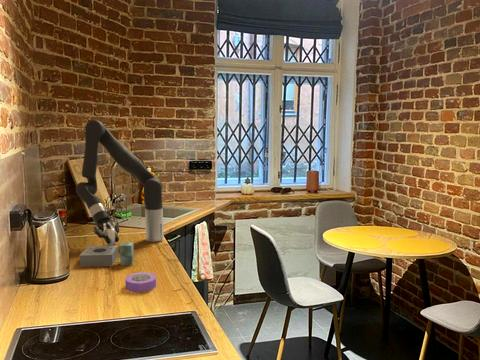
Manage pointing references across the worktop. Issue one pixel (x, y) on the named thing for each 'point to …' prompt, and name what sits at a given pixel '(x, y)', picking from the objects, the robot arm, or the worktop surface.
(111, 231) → the steel peg
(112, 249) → the socket block
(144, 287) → the masking tape
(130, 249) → the square peg
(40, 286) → the worktop surface
